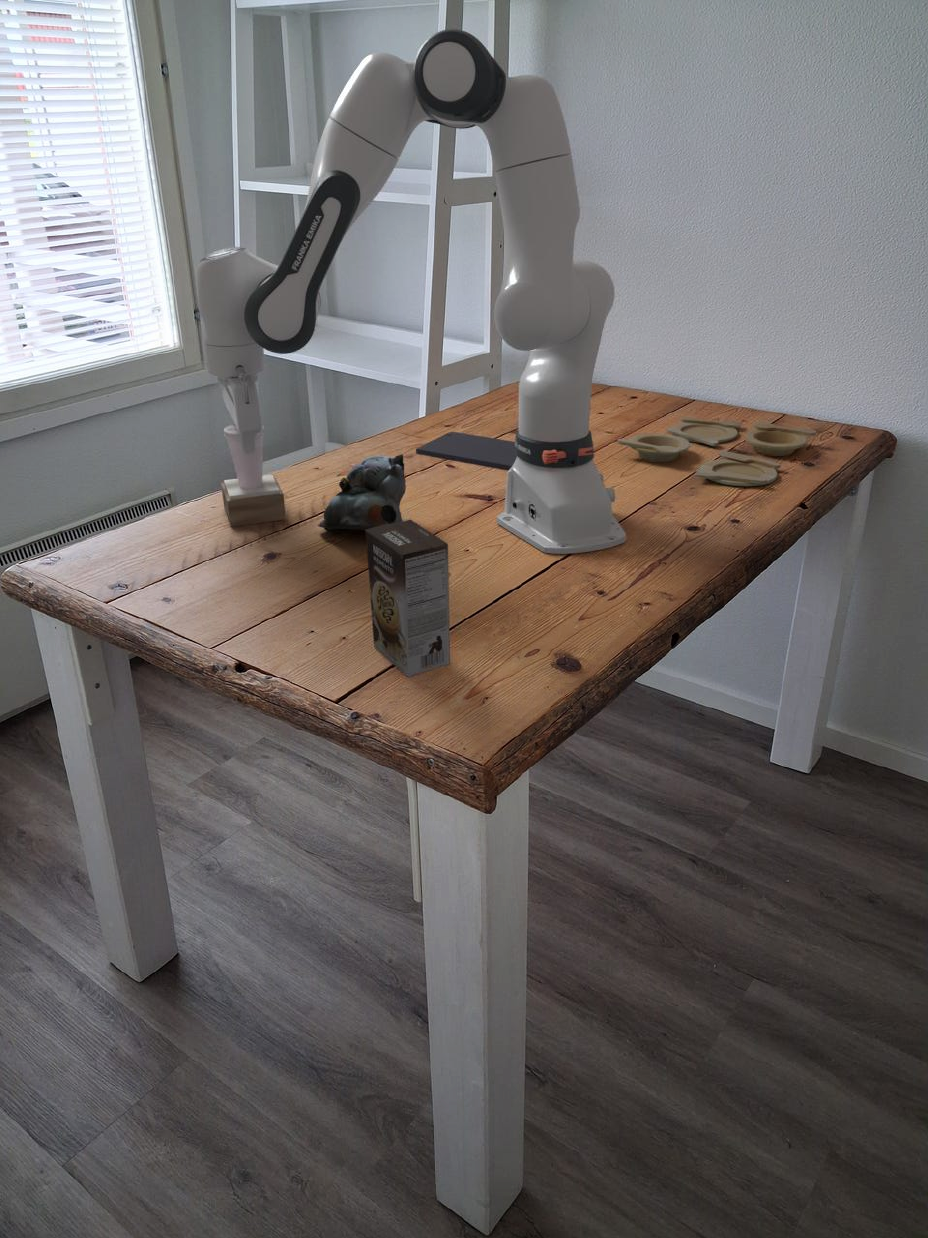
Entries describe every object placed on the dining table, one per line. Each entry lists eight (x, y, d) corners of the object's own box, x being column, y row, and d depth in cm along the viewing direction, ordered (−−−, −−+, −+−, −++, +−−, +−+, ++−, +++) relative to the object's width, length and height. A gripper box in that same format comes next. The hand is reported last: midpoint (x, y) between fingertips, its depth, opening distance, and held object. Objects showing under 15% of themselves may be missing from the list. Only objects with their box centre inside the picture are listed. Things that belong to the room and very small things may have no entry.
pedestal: (286, 519, 164) (283, 490, 162) (230, 526, 162) (226, 497, 159) (277, 500, 172) (274, 473, 170) (224, 507, 169) (220, 479, 167)
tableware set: (754, 498, 170) (757, 475, 168) (604, 466, 186) (605, 445, 184) (827, 445, 194) (830, 424, 193) (689, 421, 210) (690, 401, 208)
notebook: (416, 456, 193) (512, 474, 183) (415, 448, 193) (512, 465, 183) (451, 438, 203) (544, 454, 193) (450, 430, 202) (544, 446, 192)
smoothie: (255, 475, 168) (245, 393, 162) (278, 484, 165) (269, 400, 158) (223, 485, 164) (211, 401, 158) (246, 494, 160) (235, 409, 154)
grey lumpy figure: (307, 526, 161) (324, 441, 161) (373, 541, 167) (390, 459, 167) (342, 530, 148) (361, 438, 148) (413, 546, 154) (431, 457, 154)
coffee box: (371, 647, 126) (363, 528, 118) (416, 634, 129) (410, 516, 121) (406, 679, 119) (400, 554, 111) (452, 663, 122) (449, 541, 114)
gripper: (266, 372, 147) (276, 462, 154) (247, 344, 164) (256, 426, 171) (222, 376, 145) (234, 467, 152) (208, 347, 163) (219, 430, 169)
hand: (246, 445), depth 161 cm, fingers open, 6 cm apart
